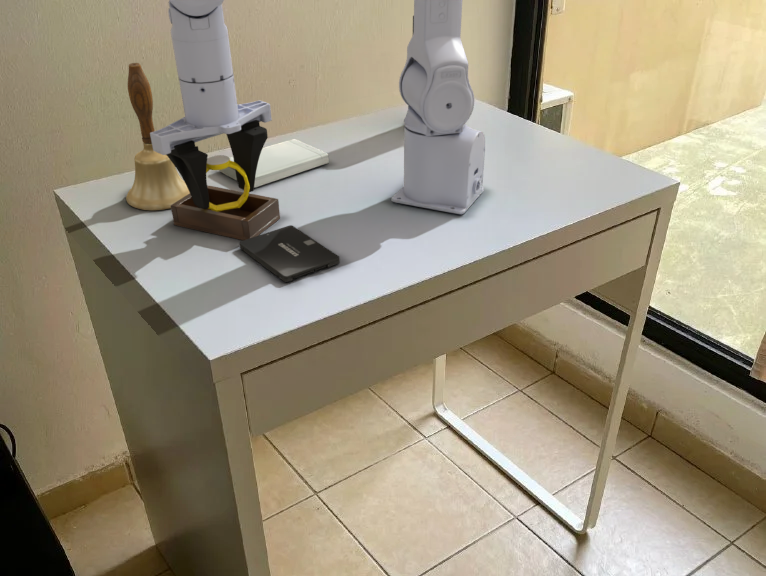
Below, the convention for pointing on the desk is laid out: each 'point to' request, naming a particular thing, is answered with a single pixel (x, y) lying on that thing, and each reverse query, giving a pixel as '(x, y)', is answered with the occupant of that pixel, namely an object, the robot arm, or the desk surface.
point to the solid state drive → (289, 253)
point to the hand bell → (150, 154)
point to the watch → (222, 163)
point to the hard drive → (284, 161)
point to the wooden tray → (227, 214)
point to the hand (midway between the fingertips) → (224, 197)
